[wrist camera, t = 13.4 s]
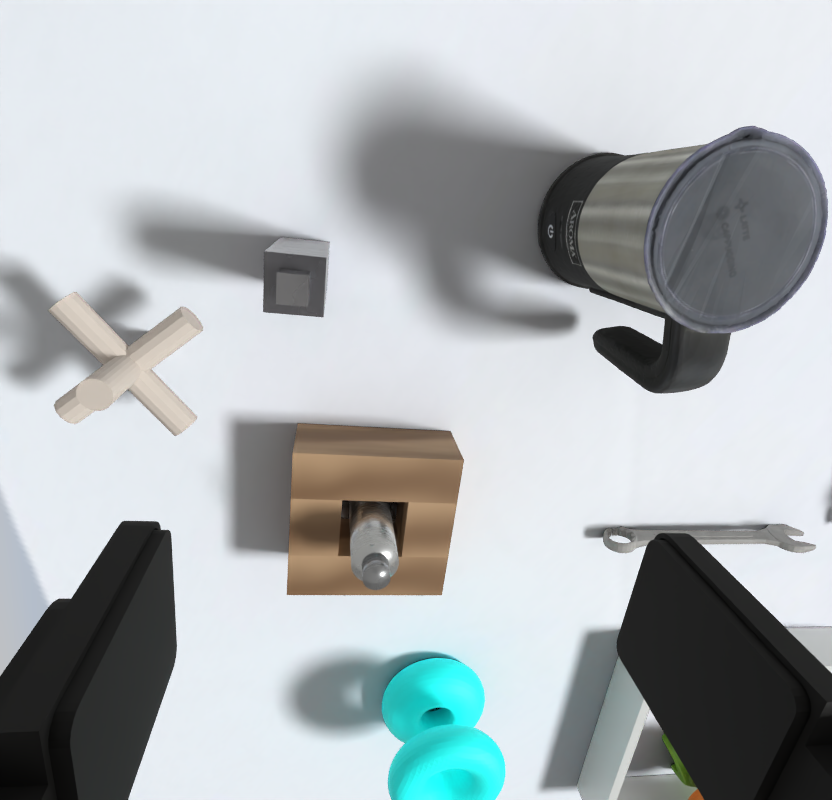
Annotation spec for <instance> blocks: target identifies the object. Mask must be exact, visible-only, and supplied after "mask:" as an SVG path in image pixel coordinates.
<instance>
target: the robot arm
mask: <svg viewBox="0 0 832 800" xmlns="http://www.w3.org/2000/svg"><path fill="white" fill-rule="evenodd" d="M176 650H177V641H176V621H175V601H174V582H173V562H172V542H171V533H170V531H169V530H161V528H160V524H159V523H158V522H154V521H123V522H122V523H121V524H120V525H119V526H118V528H117V529H116V531H115V533H114V534H113V536H112V537H111V539H110V540H109V542H108V543H107V545H106V546H105V548H104V549H103V551H102V552H101V554H100V556H99V557H98V559H97V560H96V562H95V563H94V565H93V566H92V568H91V569H90V571H89V572H88V574H87V575H86V577H85V579H84V580H83V582H82V583H81V585H80V586H79V588H78V589H77V591H76V592H75V594H74V595H73V597H72V598H71V599H58V600H56V601H54V602H53V603H52V604H51V605H50V606H49V607H48V609H47V610H46V611H45V613H44V614H43V616H42V617H41V619H40V620H39V621H38V623H37V624H36V626H35V627H34V629H33V630H32V631H31V633H30V634H29V636H28V637H27V639H26V640H25V642H24V643H23V644H22V646H21V647H20V649H19V650H18V652H17V653H16V655H15V656H14V658H13V659H12V660H11V662H10V663H9V665H8V666H7V667H6V669H5V670H4V672H3V673H2V675H1V676H0V800H128V798H129V795H130V792H131V789H132V786H133V783H134V780H135V777H136V775H137V772H138V769H139V766H140V763H141V760H142V757H143V754H144V751H145V748H146V746H147V743H148V740H149V737H150V734H151V731H152V728H153V725H154V722H155V720H156V717H157V714H158V711H159V708H160V705H161V702H162V699H163V696H164V693H165V691H166V688H167V685H168V682H169V679H170V676H171V673H172V670H173V667H174V663H175V658H176ZM617 651H618V655H619V657H620V660H621V661H622V663H623V665H624V666H625V668H626V670H627V671H628V673H629V675H630V676H631V678H632V680H633V681H634V683H635V685H636V686H637V688H638V690H639V691H640V693H641V695H642V697H643V698H644V700H645V702H646V703H647V705H648V707H649V708H650V710H651V712H652V713H653V715H654V717H655V718H656V720H657V722H658V723H659V725H660V727H661V728H662V730H663V732H664V733H665V735H666V737H667V738H668V740H669V742H670V743H671V745H672V747H673V748H674V750H675V752H676V753H677V755H678V757H679V758H680V760H681V762H682V763H683V765H684V767H685V768H686V770H687V772H688V773H689V775H690V777H691V778H692V780H693V782H694V783H695V785H696V787H697V789H698V790H699V792H700V794H701V795H702V797H703V799H704V800H832V673H831V672H830V671H829V670H828V669H827V668H826V667H825V666H824V665H823V664H822V663H821V662H820V661H819V660H818V659H817V658H816V657H815V656H814V655H813V654H812V653H811V652H810V651H809V650H808V649H807V648H806V647H805V646H804V645H803V644H802V643H800V642H799V641H798V640H797V639H796V638H795V637H794V636H793V635H792V634H791V633H790V632H789V631H788V630H787V629H786V628H785V627H784V626H783V625H782V624H781V623H780V622H779V621H778V620H777V619H776V618H775V617H774V616H773V615H772V614H771V613H770V612H769V611H768V610H767V609H766V608H765V607H764V606H763V605H762V604H761V603H760V602H759V601H758V600H757V599H756V598H755V597H754V596H753V595H752V594H751V593H750V592H749V591H748V590H747V589H746V588H745V587H744V586H743V585H742V584H740V583H739V582H738V581H737V580H736V579H735V578H734V577H733V576H732V575H731V574H730V573H729V572H728V571H727V570H726V569H725V568H724V567H723V566H722V565H721V564H720V563H719V562H718V561H717V560H716V559H715V558H714V557H713V556H712V555H711V554H710V553H709V552H708V551H707V550H706V549H705V548H704V547H703V546H702V545H701V544H700V543H699V542H698V541H697V540H696V539H695V538H694V537H692V536H691V535H690V534H686V533H659V534H658V535H657V536H656V537H655V538H654V540H651V541H650V542H649V543H648V545H647V547H646V550H645V553H644V557H643V560H642V563H641V566H640V569H639V572H638V575H637V579H636V582H635V585H634V588H633V591H632V594H631V598H630V601H629V604H628V607H627V610H626V613H625V616H624V620H623V623H622V626H621V629H620V632H619V635H618V639H617Z"/></svg>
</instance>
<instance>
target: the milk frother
mask: <svg viewBox="0 0 832 800" xmlns="http://www.w3.org/2000/svg"><path fill="white" fill-rule="evenodd" d="M827 218H828V199H827V190H826V188H825V182H824V180H823V178H822V174H821V173H820V171H819V168H818V166H817V165H816V163H815V162H814V160H813V159H812V157H811V156H810V155H809V153H808V152H807V151H806V150H805V149H804V148H803V147H801V146H800V145H799V144H797V143H796V142H795V141H793V140H791V139H789V138H787V137H785V136H783V135H780V134H778V133H773V132H769V131H767V130H765V129H762V128H758V127H756V126H748V127H741V128H738V129H736V130H734V131H733V132H731V133H729V134H727V135H725V136H723V137H721V138H719V139H717V140H714V141H713V142H711V143H709V144H705V145H698V146H691V147H684V148H677V149H670V150H663V151H657V152H651V153H642V154H637V155H626V156H624V155H620V154H616V153H602V154H596V155H593V156H589V157H587V158H584V159H582V160H580V161H578V162H576V163H574V164H573V165H572V166H570V167H569V168H568V169H567V170H565V171H564V172H563V173H562V174H561V175H560V176H559V177H558V178H557V179H556V181H555V182H554V183H553V185H552V186H551V188H550V189H549V191H548V193H547V195H546V197H545V199H544V202H543V205H542V207H541V211H540V216H539V223H538V236H539V244H540V248H541V251H542V254H543V256H544V258H545V261H546V263H547V264H548V266H549V267H550V268H551V270H552V271H553V272H554V273H555V274H556V275H557V276H558V277H560V278H561V279H562V280H564V281H566V282H567V283H569V284H571V285H574V286H577V287H581V288H586V289H589V290H590V292H591V293H594V294H596V295H600V296H603V297H606V298H608V299H612V300H615V301H617V302H620V303H623V304H626V305H628V306H631V307H634V308H637V309H639V310H642V311H644V312H647V313H650V314H653V315H655V316H659V317H661V318H665V326H664V336H663V345H662V344H660V343H658V342H656V341H654V340H653V339H651V338H649V337H647V336H645V335H644V334H642V333H640V332H638V331H636V330H634V329H632V328H631V327H625V326H616V327H609V328H603V329H599V330H597V331H596V332H595V333H594V335H593V341H594V347H595V349H596V350H597V351H598V352H599V353H600V354H601V355H602V356H604V357H605V358H606V359H607V360H608V361H610V362H611V363H612V364H613V365H615V366H616V367H617V368H618V369H619V370H621V371H622V372H624V373H625V374H626V375H627V376H629V377H630V378H631V379H633V380H634V381H635V382H636V383H638V384H639V385H641V386H642V387H643V388H645V389H646V390H648V391H650V392H653V393H676V392H683V391H689V390H693V389H697V388H699V387H702V386H704V385H706V384H708V383H709V382H710V381H711V380H712V379H713V378H714V377H715V376H716V375H717V373H718V372H719V371H720V369H721V367H722V365H723V363H724V360H725V357H726V354H727V350H728V345H729V340H730V335H731V333H732V332H736V331H739V330H743V329H746V328H748V327H750V326H753V325H755V324H757V323H759V322H762V321H763V320H765V319H767V318H768V317H769V316H771V315H772V314H774V313H776V312H777V311H778V310H779V309H780V308H781V307H782V306H783V305H784V304H785V303H786V302H787V301H788V300H789V299H791V298H792V297H793V295H794V294H795V293H796V292H797V291H798V290H799V289H800V287H801V286H802V284H803V283H804V282H805V281H806V279H807V278H808V276H809V274H810V273H811V271H812V269H813V267H814V265H815V262H816V261H817V259H818V256H819V254H820V251H821V248H822V245H823V242H824V239H825V235H826V227H827Z"/></svg>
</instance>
